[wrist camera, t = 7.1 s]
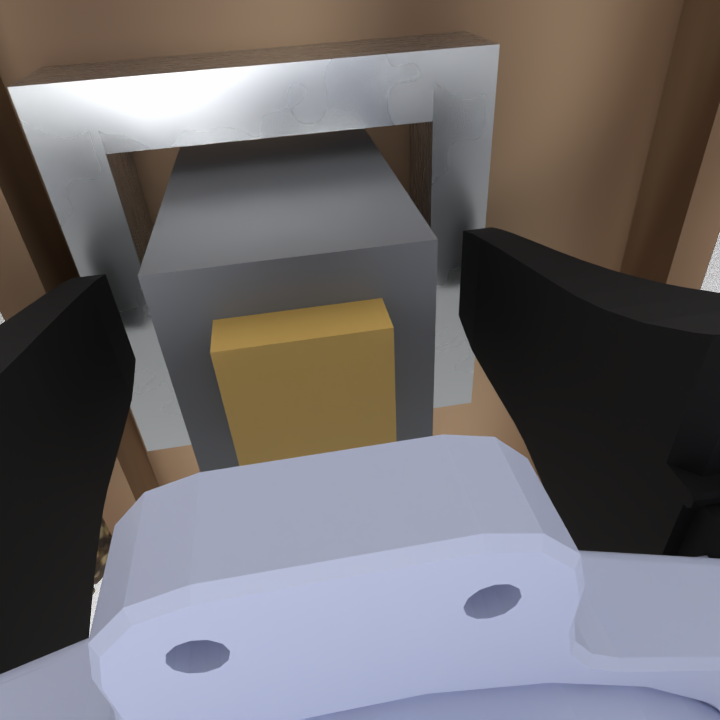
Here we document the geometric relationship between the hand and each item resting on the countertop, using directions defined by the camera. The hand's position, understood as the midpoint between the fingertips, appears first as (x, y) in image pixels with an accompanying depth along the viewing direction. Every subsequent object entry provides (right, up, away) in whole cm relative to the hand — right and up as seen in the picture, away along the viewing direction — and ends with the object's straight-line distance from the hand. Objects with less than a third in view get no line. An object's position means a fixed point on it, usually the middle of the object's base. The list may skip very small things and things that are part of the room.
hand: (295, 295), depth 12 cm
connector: (0, +2, +2) cm, 3 cm away
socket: (-1, +2, +3) cm, 3 cm away
